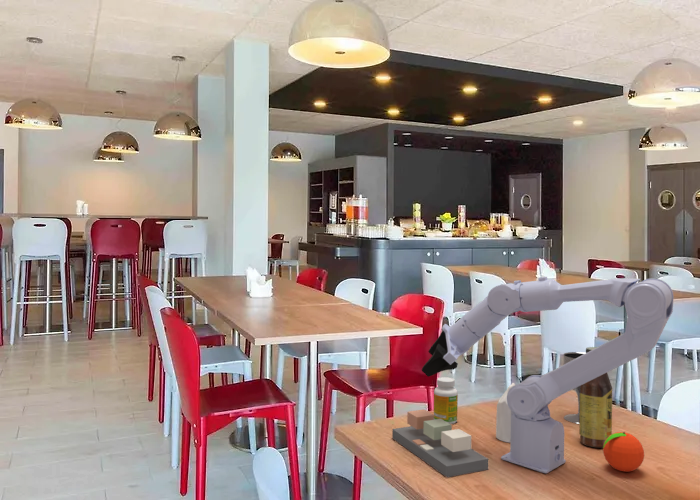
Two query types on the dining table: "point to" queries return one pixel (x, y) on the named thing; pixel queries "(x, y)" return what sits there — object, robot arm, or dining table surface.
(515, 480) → the dining table surface
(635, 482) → the dining table surface
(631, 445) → the clementine
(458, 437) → the cream key
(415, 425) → the terracotta key
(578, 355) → the wine glass
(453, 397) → the supplement bottle
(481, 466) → the grey key panel base
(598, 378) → the sauce bottle
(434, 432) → the sage key
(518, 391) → the robot arm
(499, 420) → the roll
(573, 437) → the dining table surface
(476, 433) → the dining table surface
